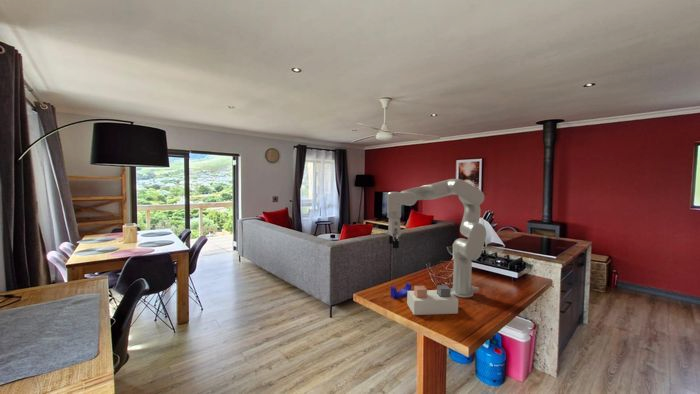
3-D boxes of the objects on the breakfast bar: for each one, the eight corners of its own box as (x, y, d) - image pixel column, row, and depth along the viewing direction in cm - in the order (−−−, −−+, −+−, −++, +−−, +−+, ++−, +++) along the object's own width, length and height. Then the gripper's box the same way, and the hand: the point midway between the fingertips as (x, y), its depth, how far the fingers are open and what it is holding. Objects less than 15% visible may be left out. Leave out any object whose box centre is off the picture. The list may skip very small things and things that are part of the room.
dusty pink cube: (423, 297, 147) (423, 285, 147) (426, 302, 142) (427, 289, 142) (413, 298, 147) (414, 285, 146) (417, 302, 142) (417, 289, 141)
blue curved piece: (406, 292, 166) (406, 282, 165) (411, 295, 162) (411, 284, 161) (389, 296, 160) (389, 285, 160) (393, 299, 156) (394, 288, 156)
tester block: (447, 302, 152) (448, 289, 151) (457, 313, 140) (458, 299, 140) (407, 303, 150) (407, 290, 150) (414, 314, 138) (414, 300, 138)
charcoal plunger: (446, 297, 148) (446, 285, 147) (450, 301, 143) (450, 288, 143) (436, 297, 148) (437, 285, 147) (440, 301, 143) (440, 289, 142)
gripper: (404, 217, 146) (404, 249, 147) (397, 212, 163) (396, 241, 165) (390, 217, 146) (390, 250, 147) (384, 212, 163) (383, 242, 164)
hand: (393, 245), depth 156 cm, fingers open, 9 cm apart
